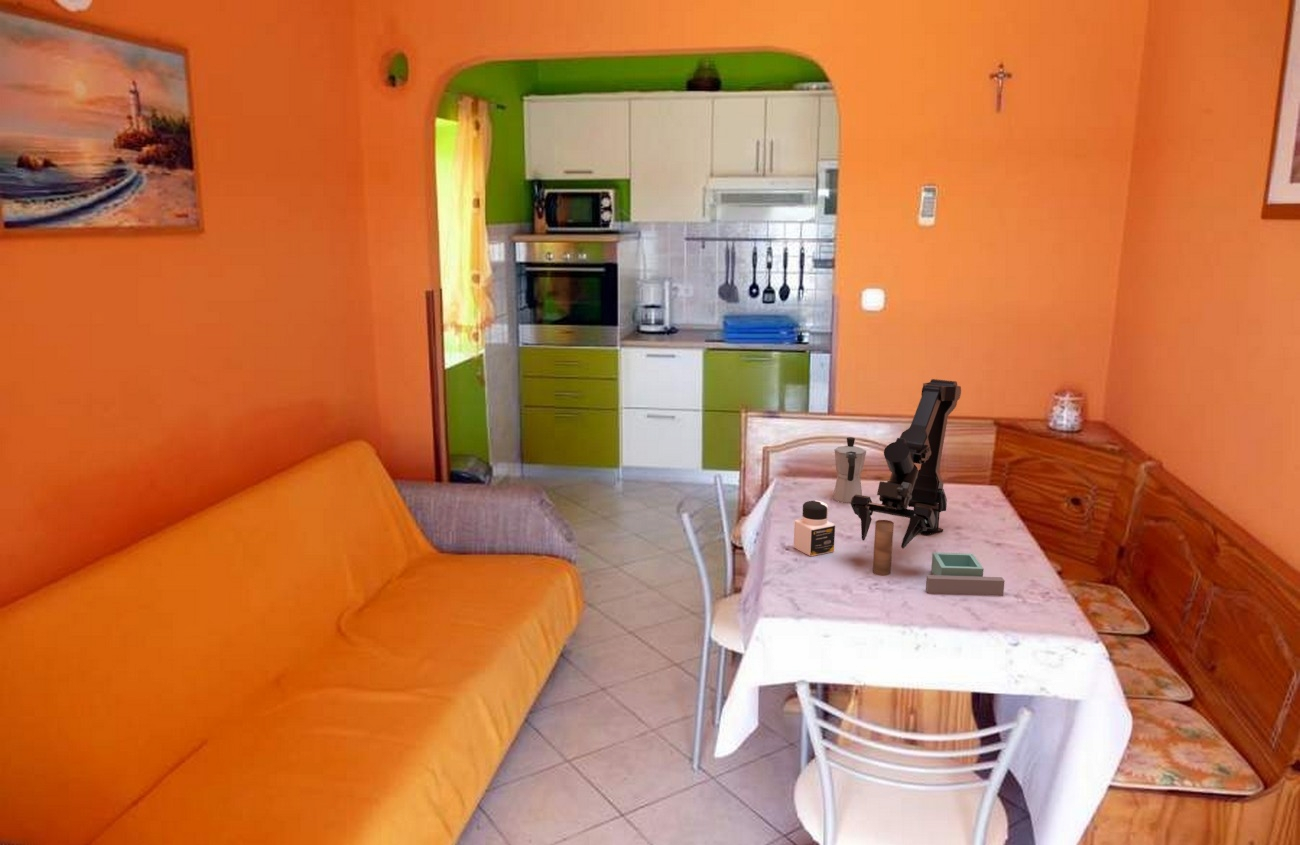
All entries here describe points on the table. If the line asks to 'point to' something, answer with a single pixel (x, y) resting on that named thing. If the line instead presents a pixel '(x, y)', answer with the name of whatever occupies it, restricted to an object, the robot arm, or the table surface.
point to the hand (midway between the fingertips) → (882, 543)
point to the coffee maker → (848, 471)
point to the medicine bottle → (814, 530)
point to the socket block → (956, 565)
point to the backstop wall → (965, 585)
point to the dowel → (883, 547)
